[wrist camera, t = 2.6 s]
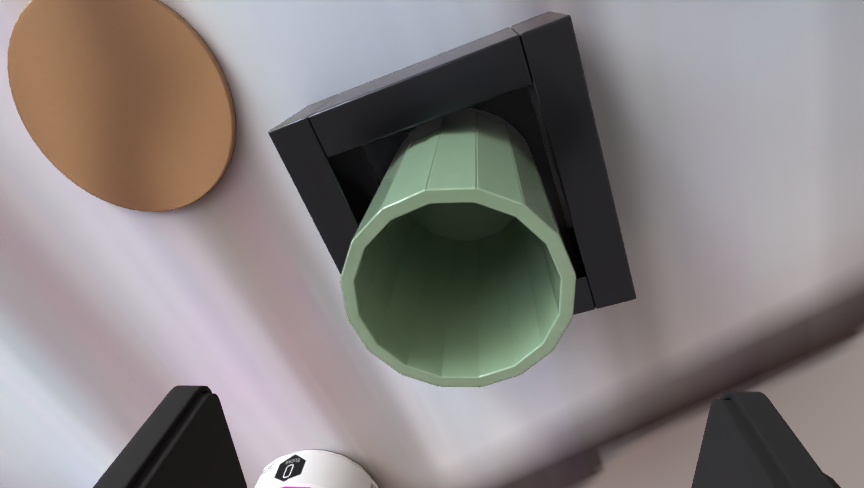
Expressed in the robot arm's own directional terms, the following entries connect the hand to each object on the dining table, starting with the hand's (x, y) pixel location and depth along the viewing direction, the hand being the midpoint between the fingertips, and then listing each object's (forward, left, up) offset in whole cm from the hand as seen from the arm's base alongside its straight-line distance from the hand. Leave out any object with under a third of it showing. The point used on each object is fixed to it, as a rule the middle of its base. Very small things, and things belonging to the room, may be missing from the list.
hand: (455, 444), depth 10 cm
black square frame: (0, 0, -15) cm, 15 cm away
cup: (0, 0, -15) cm, 15 cm away
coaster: (-15, +4, -15) cm, 22 cm away
